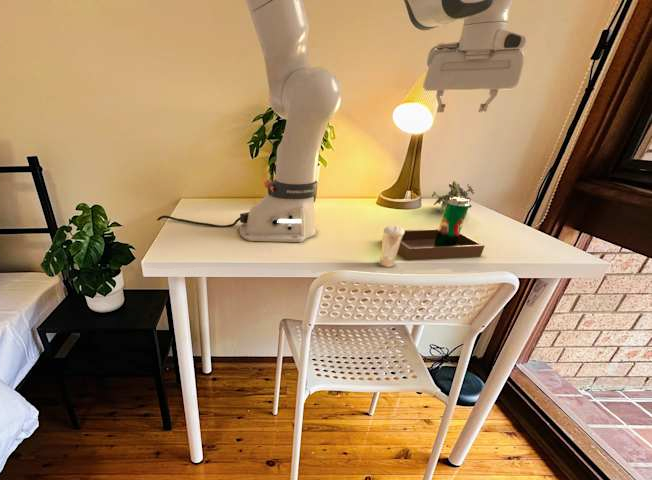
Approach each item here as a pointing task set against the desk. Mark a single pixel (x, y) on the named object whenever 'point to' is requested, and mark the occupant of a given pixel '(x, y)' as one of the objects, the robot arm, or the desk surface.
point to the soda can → (452, 221)
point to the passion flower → (454, 194)
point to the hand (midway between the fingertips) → (460, 112)
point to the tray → (424, 247)
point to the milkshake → (390, 244)
